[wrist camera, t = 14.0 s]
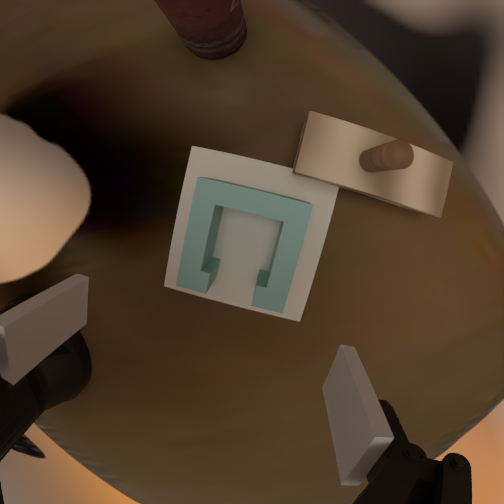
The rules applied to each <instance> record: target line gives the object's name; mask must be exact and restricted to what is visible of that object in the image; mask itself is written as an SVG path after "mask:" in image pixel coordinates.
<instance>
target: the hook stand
mask: <svg viewBox="0 0 504 504" xmlns="http://www.w3.org/2000/svg"><path fill="white" fill-rule="evenodd" d="M452 166H453V162H451V161H449V160H447V159H445V158H442V157H440V156H438V155H436V154H433V153H431V152H429V151H426V150H424V149H421V148H419V147H416V146H414V145H411V144H409V143H408V142H406V141H405V140H402V139H396V138H393V137H391V136H388V135H385V134H382V133H380V132H377V131H374V130H371V129H368V128H365V127H362V126H359V125H356V124H353V123H350V122H347V121H343V120H340V119H337V118H333V117H330V116H327V115H323V114H320V113H316V112H312V111H309V113H308V115H307V118H306V120H305V122H304V125H303V129H302V133H301V137H300V142H299V146H298V150H297V154H296V158H295V162H294V166H293V170H292V174H294V175H297V176H301V177H305V178H309V179H312V180H316V181H319V182H323V183H327V184H330V185H334V186H337V187H340V188H343V189H347V190H350V191H353V192H356V193H360V194H363V195H366V196H369V197H372V198H376V199H379V200H382V201H385V202H388V203H391V204H394V205H397V206H400V207H403V208H406V209H409V210H412V211H414V212H417V213H422V214H426V215H430V216H434V217H438V218H441V215H442V211H443V207H444V203H445V198H446V194H447V190H448V185H449V180H450V176H451V171H452Z"/></svg>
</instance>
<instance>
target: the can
mask: <svg viewBox="0 0 504 504" xmlns="http://www.w3.org/2000/svg"><path fill="white" fill-rule="evenodd" d="M154 1H155V2H156V3H157V5H158V6H159V7H160V9H161V10H162V12H163V13H164V14H165V16H166V17H167V18H168V20H169V21H170V23H171V24H172V25H173V27H174V28H175V30H176V31H177V32H178V34H179V35H180V37H181V38H182V40H183V41H184V42H185V44H186V45H187V47H188V48H189V50H191V51H192V52H193V53H194V54H195V55H198V56H201V57H203V58H218V57H224V56H226V55H228V54H230V53H232V52H234V51H235V50H236V49H237V48H239V47H240V45H241V44H242V42H243V41H244V40H245V36H246V32H247V30H246V24H245V19H244V14H243V10H242V5H241V0H154Z"/></svg>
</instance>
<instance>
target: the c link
mask: <svg viewBox="0 0 504 504" xmlns="http://www.w3.org/2000/svg"><path fill="white" fill-rule="evenodd" d="M224 207H227V208H231V209H235V210H239V211H244V212H248V213H252V214H256V215H260V216H264V217H268V218H272V219H276V220H279V221H281V224H280V227H279V231H278V235H277V239H276V243H275V247H274V250H273V254H272V258H271V262H270V266H269V269H268V271H265V270H261V269H260V270H259V274H258V278H257V282H256V286H255V290H254V295H253V300H252V305H251V306H254V307H258V308H262V309H266V310H270V311H274V312H278V313H283V310H284V307H285V303H286V300H287V297H288V293H289V290H290V286H291V283H292V279H293V276H294V272H295V269H296V265H297V262H298V258H299V255H300V251H301V248H302V244H303V240H304V237H305V233H306V229H307V226H308V222H309V218H310V214H311V211H312V207H313V204H311V203H309V202H307V201H303V200H300V199H296V198H292V197H288V196H284V195H281V194H277V193H273V192H269V191H265V190H261V189H257V188H252V187H248V186H244V185H240V184H236V183H231V182H227V181H223V180H218V179H214V178H207V177H198V178H197V182H196V187H195V191H194V196H193V200H192V205H191V210H190V214H189V219H188V224H187V229H186V234H185V239H184V244H183V249H182V254H181V260H180V265H179V271H178V276H177V282H176V286H179V287H182V288H186V289H189V290H193V291H197V292H200V293H204V294H206V293H207V291H208V290H209V288H210V287H211V285H212V283H213V282H214V280H215V279H216V277H217V273H218V269H219V264H220V260H221V259H218V258H214V257H213V252H214V248H215V243H216V239H217V234H218V230H219V225H220V221H221V217H222V212H223V208H224Z"/></svg>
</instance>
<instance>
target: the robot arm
mask: <svg viewBox="0 0 504 504" xmlns="http://www.w3.org/2000/svg"><path fill="white" fill-rule="evenodd" d="M88 285H89V277H87V276H84V275H81V274H78V273H77V274H75V275H73V276H71V277H69V278H68V279H66V280H64V281H62V282H60V283H58V284H56V285H54V286H52V287H50V288H48V289H47V290H45V291H43V292H41V293H39V294H37V295H36V294H26V295H23V296H21V297H19V298H17V299H15V300H13V301H11V302H10V303H9V304H8V305H7V306H6V307H5V308H4V309H3V310H2V311H0V462H1V460H2V459H3V458H4V457H5V455H6V454H7V453H8V452H9V451H10V449H11V448H12V447H13V446H14V445H15V444H16V442H17V441H18V440H19V439H20V438H21V437H22V435H23V434H24V433H25V432H26V431H27V430H28V428H29V427H30V426H31V425H32V424H33V423H34V422H35V420H36V419H37V418H38V417H39V416H40V415H41V414H42V413H43V412H44V411H45V410H47V409H50V408H52V407H54V406H56V405H58V404H60V403H62V402H65V401H68V400H71V399H73V398H75V397H76V396H77V395H78V394H79V393H80V392H81V391H82V390H83V389H84V387H85V386H86V385H87V383H88V381H89V378H90V373H91V364H90V358H89V354H88V350H87V348H86V345H85V343H84V340H83V338H82V336H81V334H80V333H79V331H78V330H79V329H81V328H82V327H83V326H84V325H86V324H87V303H88ZM322 390H323V395H324V399H325V404H326V409H327V414H328V419H329V424H330V429H331V434H332V439H333V444H334V449H335V454H336V459H337V464H338V470H339V475H340V481H341V485H360V484H361V483H362V481H363V480H364V479H365V478H366V476H367V479H368V483H369V484H368V485H367V487H366V488H365V489H364V490H363V491H362V493H361V494H360V495H359V496H358V497H357V498H356V500H355V501H354V502H353V504H472V481H471V480H472V479H471V466H470V463H469V461H468V460H467V459H466V458H465V457H464V456H462V455H460V454H458V453H449V454H447V455H446V456H445V457H444V458H443V460H442V461H438V460H433V459H429V458H427V457H426V454H425V452H424V451H423V450H422V448H420V447H419V446H417V445H415V444H412V443H409V441H408V439H407V437H406V435H405V432H404V430H403V428H402V426H401V424H400V423H399V419H398V417H396V416H397V415H396V413H395V411H394V409H393V407H392V406H391V405H390V404H389V403H388V402H387V401H386V400H379V399H378V398H377V396H376V394H375V392H374V389H373V387H372V385H371V383H370V380H369V378H368V376H367V374H366V371H365V369H364V367H363V365H362V363H361V360H360V358H359V356H358V354H357V352H356V350H355V347H352V346H347V345H342V344H340V346H339V349H338V351H337V354H336V356H335V359H334V361H333V364H332V366H331V368H330V371H329V373H328V376H327V378H326V380H325V382H324V385H323V387H322ZM0 504H4V501H3V495H2V489H1V483H0Z"/></svg>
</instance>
